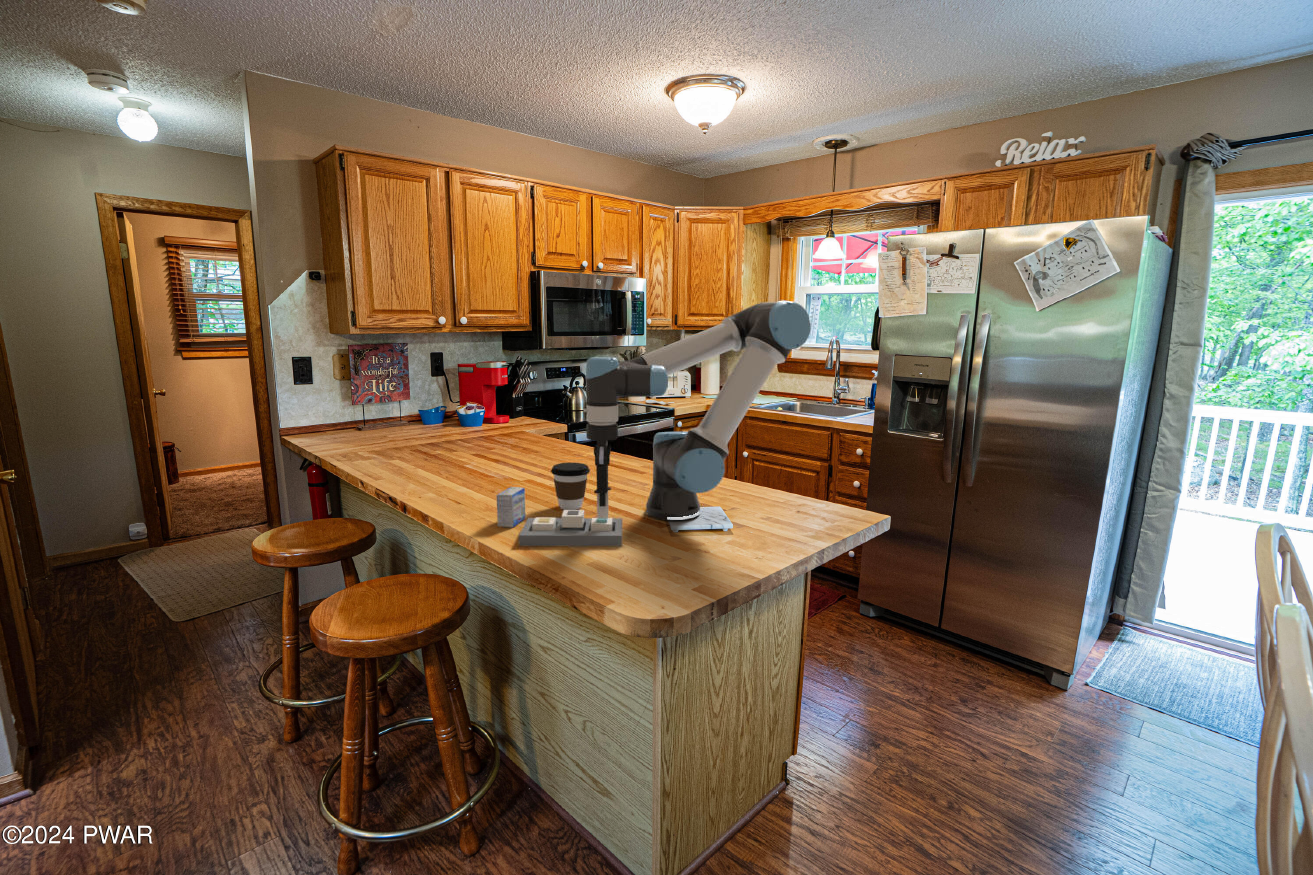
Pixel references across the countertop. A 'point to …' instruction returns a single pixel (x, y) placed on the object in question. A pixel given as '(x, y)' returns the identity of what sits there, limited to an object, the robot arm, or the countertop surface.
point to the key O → (601, 524)
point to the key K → (573, 518)
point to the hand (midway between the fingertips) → (602, 517)
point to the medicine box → (511, 507)
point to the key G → (544, 524)
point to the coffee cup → (570, 484)
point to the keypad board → (571, 535)
